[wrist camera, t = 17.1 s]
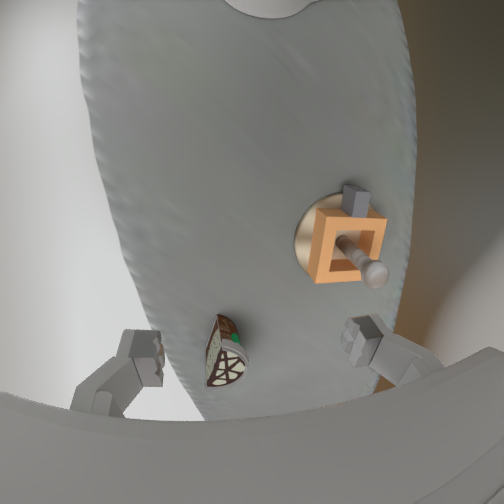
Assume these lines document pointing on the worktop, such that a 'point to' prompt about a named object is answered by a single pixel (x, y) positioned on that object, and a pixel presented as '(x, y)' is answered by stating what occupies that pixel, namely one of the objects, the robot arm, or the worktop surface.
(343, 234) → the round peg stand
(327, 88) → the worktop surface
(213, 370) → the food container
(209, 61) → the worktop surface
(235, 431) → the robot arm
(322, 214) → the orange square frame
